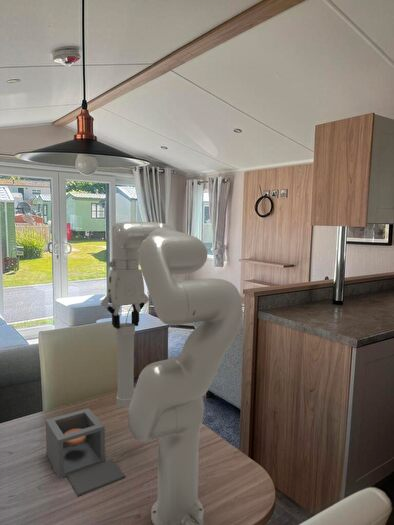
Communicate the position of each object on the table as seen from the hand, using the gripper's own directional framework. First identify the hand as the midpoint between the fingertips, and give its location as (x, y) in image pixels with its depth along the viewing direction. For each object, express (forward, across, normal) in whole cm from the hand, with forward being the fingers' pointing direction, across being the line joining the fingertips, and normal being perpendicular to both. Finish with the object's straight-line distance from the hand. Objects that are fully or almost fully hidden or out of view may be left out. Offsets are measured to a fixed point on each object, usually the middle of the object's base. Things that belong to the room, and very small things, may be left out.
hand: (125, 325), depth 113 cm
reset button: (+35, -14, +5) cm, 38 cm away
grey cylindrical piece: (+24, 0, 0) cm, 24 cm away
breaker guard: (+39, -14, +5) cm, 42 cm away
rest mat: (+39, -12, -6) cm, 41 cm away
